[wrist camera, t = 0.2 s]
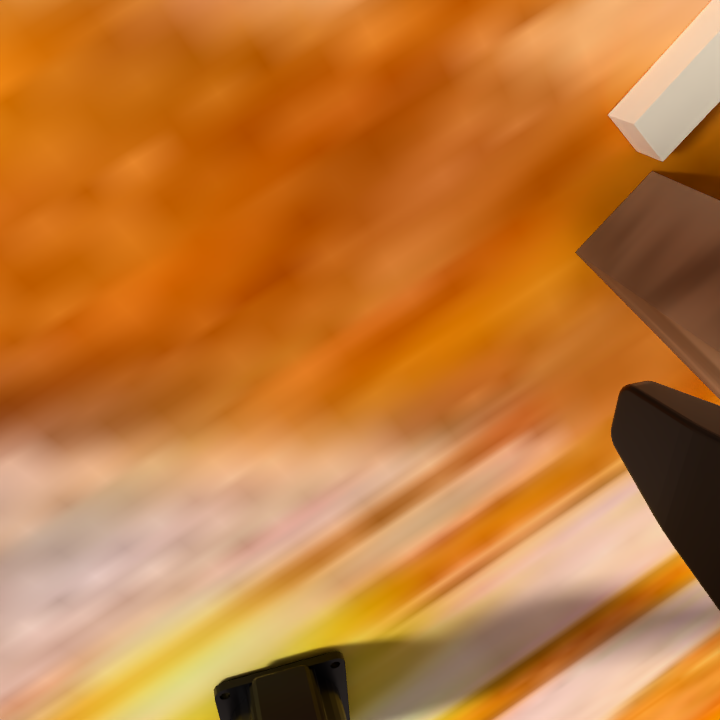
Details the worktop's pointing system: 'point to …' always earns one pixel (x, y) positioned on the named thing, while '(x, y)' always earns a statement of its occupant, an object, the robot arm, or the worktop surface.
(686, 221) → the t block
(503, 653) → the worktop surface
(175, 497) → the worktop surface
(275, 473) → the worktop surface
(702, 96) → the t outline
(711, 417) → the robot arm
